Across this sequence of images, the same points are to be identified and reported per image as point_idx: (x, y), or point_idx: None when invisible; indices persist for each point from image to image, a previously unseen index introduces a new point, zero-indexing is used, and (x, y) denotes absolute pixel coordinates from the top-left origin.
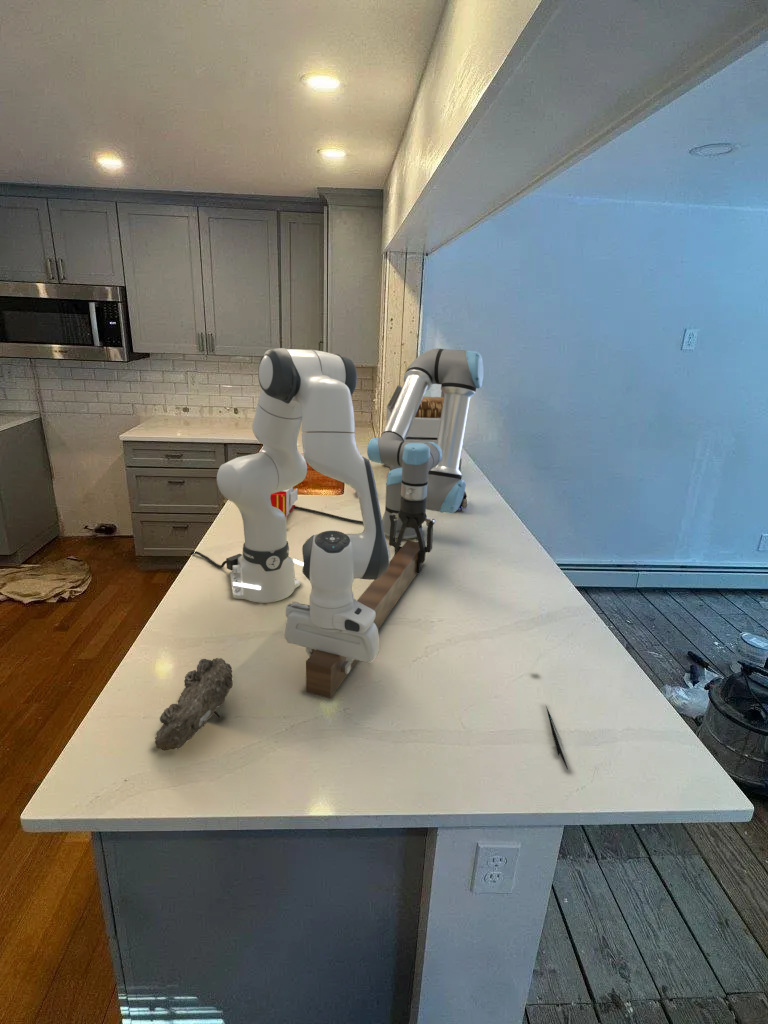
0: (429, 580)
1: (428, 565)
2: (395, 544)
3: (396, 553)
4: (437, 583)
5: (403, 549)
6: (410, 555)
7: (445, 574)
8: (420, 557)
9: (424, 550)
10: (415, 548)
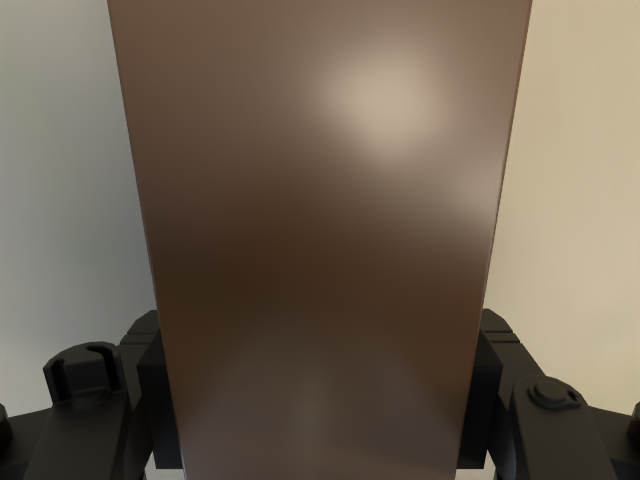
0: (92, 174)
1: None
2: (592, 433)
3: (501, 173)
4: (3, 145)
5: (414, 376)
6: (220, 198)
7: (33, 328)
8: None
9: (53, 429)
10: (250, 468)
